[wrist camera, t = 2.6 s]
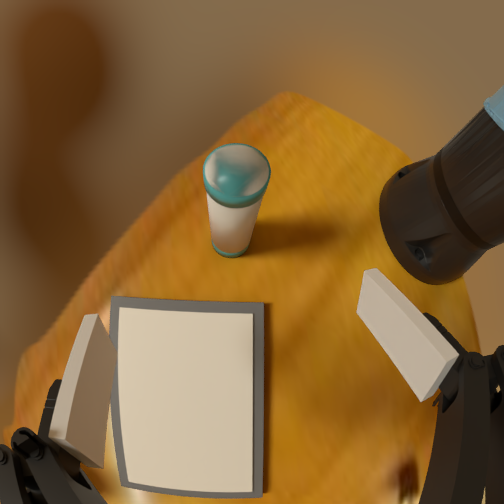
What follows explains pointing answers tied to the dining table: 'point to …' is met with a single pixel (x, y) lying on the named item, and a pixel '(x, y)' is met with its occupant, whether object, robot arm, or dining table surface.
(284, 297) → the dining table surface
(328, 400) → the dining table surface
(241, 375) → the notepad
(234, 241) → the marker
